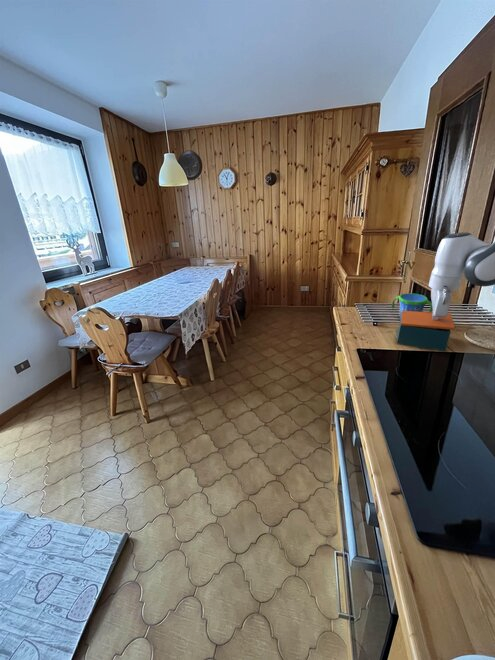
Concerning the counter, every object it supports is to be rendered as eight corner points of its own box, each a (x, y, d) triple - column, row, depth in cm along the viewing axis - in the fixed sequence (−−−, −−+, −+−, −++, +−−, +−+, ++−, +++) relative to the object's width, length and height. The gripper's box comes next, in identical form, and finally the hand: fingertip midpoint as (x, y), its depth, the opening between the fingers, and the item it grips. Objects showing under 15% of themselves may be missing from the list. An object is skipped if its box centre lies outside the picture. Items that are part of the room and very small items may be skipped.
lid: (450, 315, 106) (451, 313, 105) (454, 329, 96) (454, 327, 96) (401, 312, 113) (402, 310, 113) (400, 325, 104) (401, 323, 103)
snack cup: (385, 317, 128) (389, 296, 123) (396, 310, 133) (400, 290, 129) (422, 328, 117) (428, 305, 112) (432, 320, 122) (438, 298, 118)
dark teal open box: (442, 335, 110) (447, 318, 107) (445, 351, 100) (450, 332, 97) (398, 329, 117) (401, 312, 113) (396, 343, 107) (400, 325, 104)
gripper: (459, 293, 87) (447, 332, 94) (452, 274, 103) (442, 309, 110) (435, 291, 90) (425, 329, 96) (432, 273, 106) (423, 307, 112)
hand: (434, 318), depth 103 cm, fingers closed, pressing on lid
